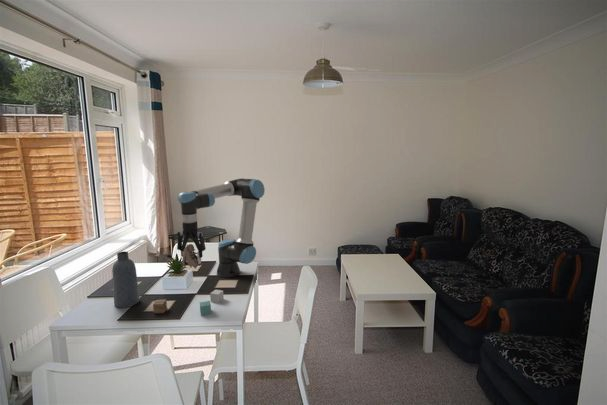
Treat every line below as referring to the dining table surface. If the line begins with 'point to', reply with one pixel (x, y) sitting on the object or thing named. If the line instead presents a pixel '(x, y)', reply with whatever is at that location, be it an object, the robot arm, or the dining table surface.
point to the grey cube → (216, 296)
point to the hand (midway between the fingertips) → (192, 262)
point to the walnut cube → (160, 306)
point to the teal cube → (205, 308)
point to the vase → (125, 281)
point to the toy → (190, 256)
